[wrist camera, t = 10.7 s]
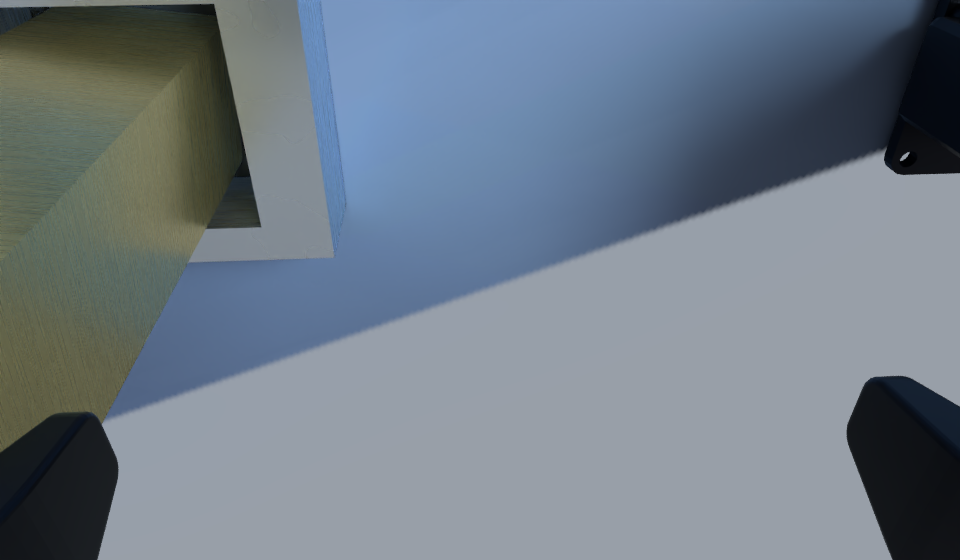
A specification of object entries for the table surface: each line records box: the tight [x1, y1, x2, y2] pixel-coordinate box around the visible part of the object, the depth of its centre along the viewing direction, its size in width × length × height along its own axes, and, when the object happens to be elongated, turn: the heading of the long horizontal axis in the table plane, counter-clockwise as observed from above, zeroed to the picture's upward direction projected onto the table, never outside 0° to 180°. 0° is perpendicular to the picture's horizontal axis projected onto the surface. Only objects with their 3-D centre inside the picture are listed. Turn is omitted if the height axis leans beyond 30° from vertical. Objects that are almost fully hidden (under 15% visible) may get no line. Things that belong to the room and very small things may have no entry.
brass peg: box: [0, 5, 243, 452], centre depth 13 cm, size 4×4×13 cm
